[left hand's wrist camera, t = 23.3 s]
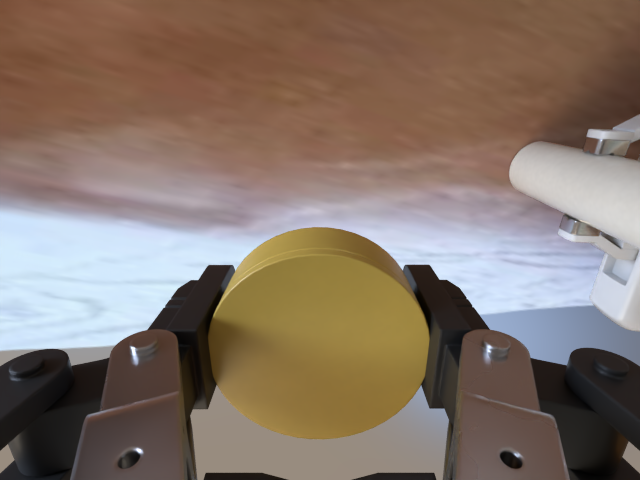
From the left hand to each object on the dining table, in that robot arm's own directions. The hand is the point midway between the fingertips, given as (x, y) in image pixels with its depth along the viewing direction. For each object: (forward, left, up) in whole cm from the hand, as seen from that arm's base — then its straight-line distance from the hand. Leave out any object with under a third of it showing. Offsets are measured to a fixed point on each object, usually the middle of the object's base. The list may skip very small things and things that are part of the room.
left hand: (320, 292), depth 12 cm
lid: (0, 0, +3) cm, 3 cm away
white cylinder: (+3, +18, -20) cm, 27 cm away
